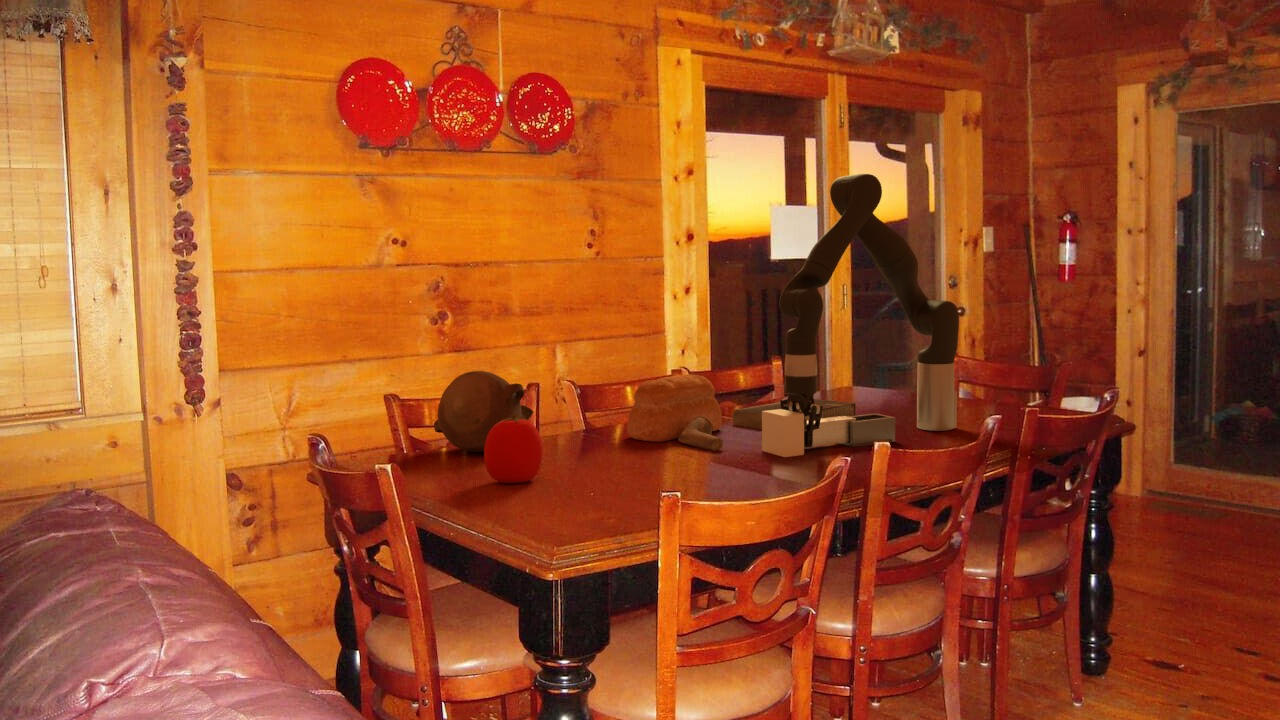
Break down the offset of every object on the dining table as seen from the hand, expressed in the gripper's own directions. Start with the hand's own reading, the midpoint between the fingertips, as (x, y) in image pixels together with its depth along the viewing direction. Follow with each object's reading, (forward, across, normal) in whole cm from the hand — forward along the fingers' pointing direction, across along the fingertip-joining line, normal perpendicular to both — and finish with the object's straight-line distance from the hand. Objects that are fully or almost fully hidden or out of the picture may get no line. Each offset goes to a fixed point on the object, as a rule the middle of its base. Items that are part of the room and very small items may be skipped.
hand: (801, 444), depth 252 cm
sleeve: (+1, 0, -18) cm, 19 cm away
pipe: (+2, +18, +15) cm, 24 cm away
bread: (+2, +36, +14) cm, 38 cm away
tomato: (+2, +5, +70) cm, 70 cm away
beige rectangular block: (+1, 0, -4) cm, 5 cm away
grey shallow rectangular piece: (+2, +33, -22) cm, 40 cm away
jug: (+2, +44, +61) cm, 75 cm away
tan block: (+1, 0, +5) cm, 5 cm away
